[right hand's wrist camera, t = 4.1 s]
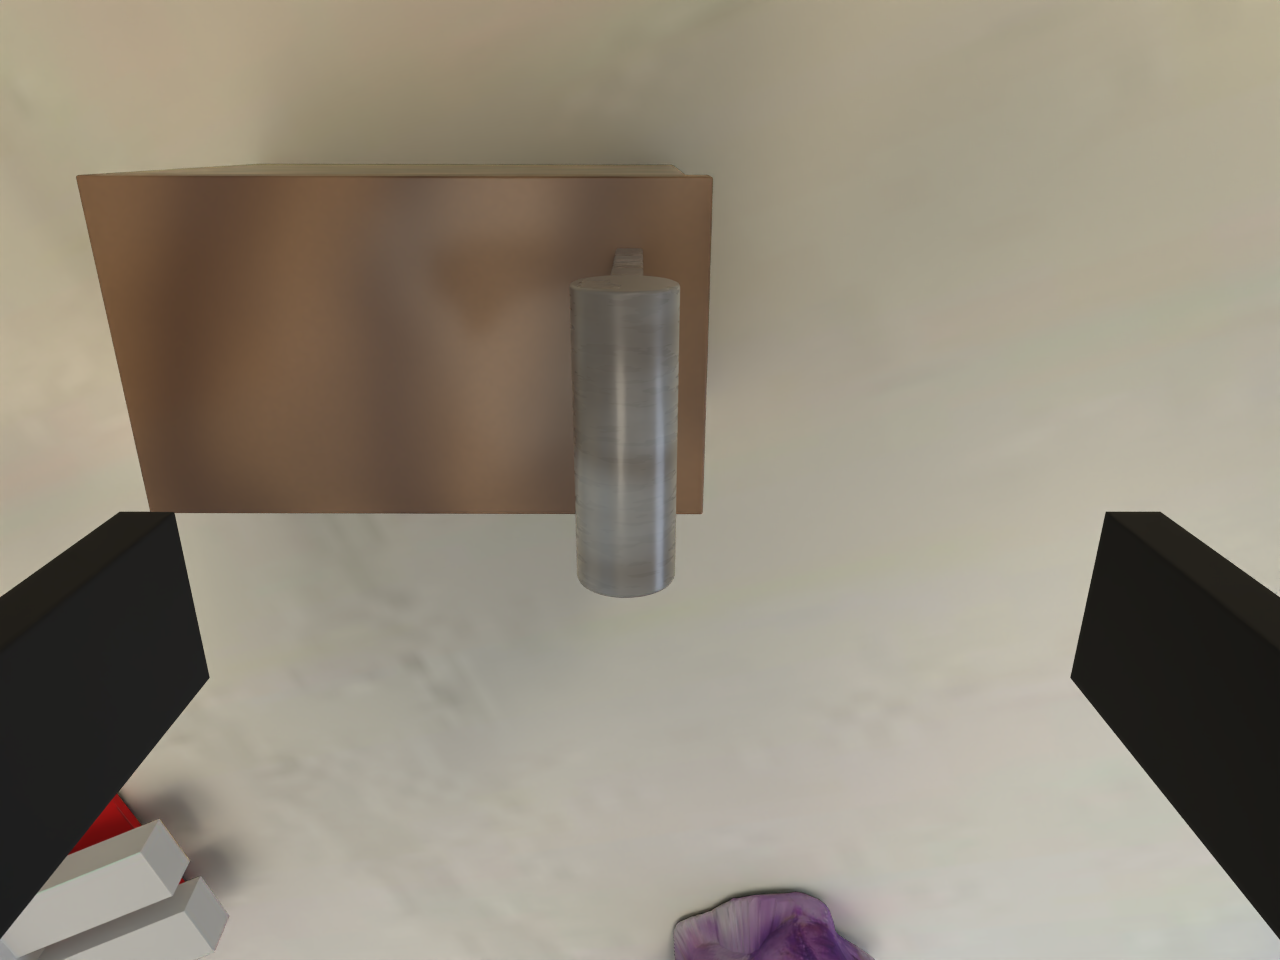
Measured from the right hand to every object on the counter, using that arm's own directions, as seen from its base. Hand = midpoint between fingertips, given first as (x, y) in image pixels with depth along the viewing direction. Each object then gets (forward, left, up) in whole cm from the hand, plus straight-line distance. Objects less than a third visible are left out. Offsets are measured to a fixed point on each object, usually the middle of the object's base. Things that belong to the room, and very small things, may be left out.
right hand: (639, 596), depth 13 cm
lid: (+3, -6, -13) cm, 15 cm away
